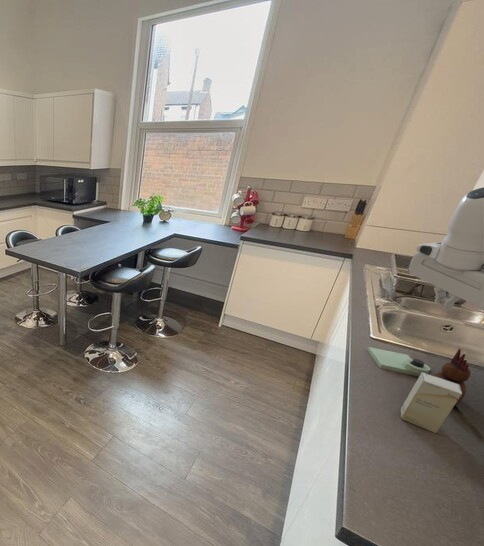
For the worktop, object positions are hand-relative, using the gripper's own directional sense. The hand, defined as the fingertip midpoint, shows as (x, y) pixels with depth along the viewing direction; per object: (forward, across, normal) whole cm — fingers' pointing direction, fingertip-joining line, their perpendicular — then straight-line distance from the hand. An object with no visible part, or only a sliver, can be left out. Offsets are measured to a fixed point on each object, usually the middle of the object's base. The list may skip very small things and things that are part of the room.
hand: (443, 304), depth 80 cm
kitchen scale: (+26, +6, 0) cm, 26 cm away
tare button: (+23, +2, -3) cm, 23 cm away
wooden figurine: (+24, -9, +1) cm, 26 cm away
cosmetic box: (+22, -17, +13) cm, 31 cm away
